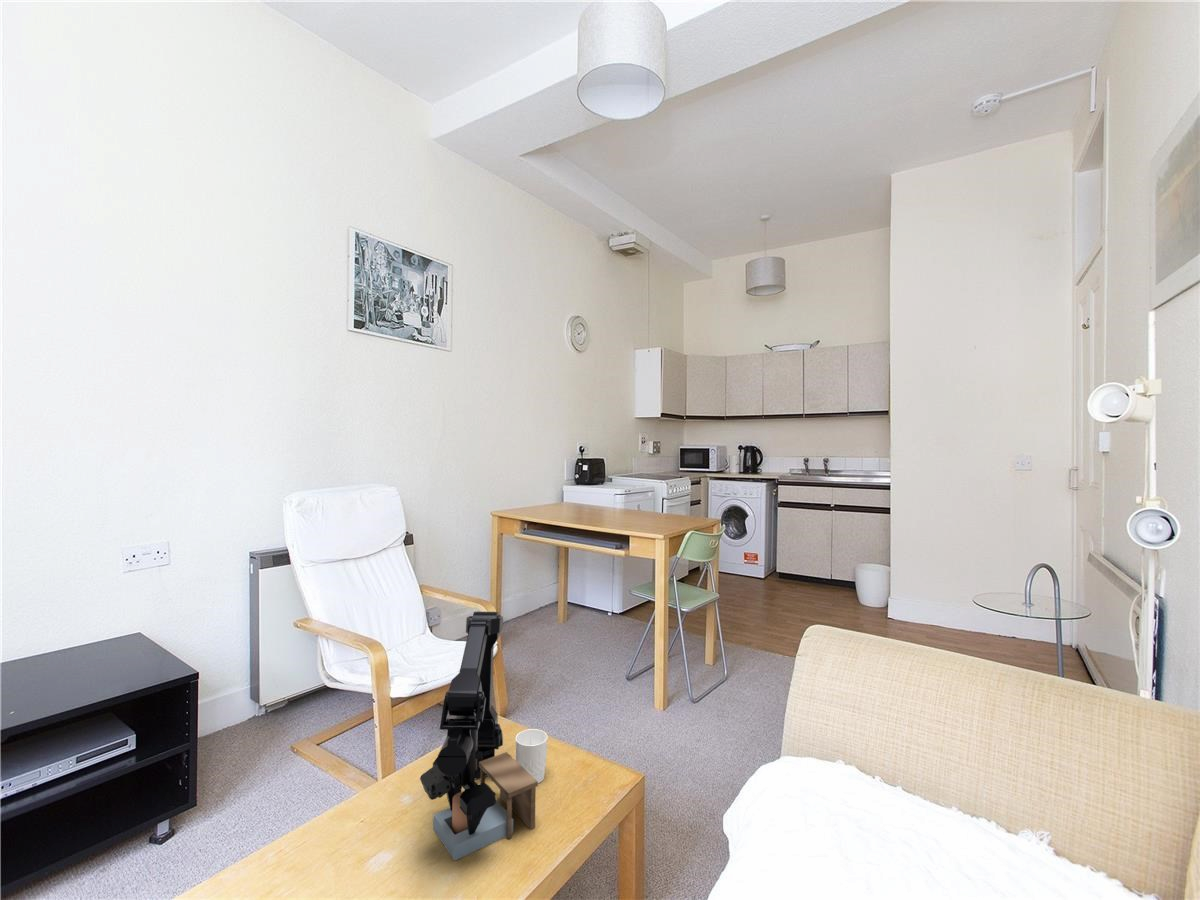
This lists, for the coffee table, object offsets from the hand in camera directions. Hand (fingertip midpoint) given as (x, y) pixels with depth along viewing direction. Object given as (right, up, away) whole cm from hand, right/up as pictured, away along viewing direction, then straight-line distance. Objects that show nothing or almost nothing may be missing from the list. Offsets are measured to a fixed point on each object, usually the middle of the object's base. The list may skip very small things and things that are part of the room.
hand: (462, 821), depth 114 cm
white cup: (+12, -3, +21) cm, 24 cm away
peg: (0, -3, 0) cm, 3 cm away
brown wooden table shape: (+8, -3, +6) cm, 11 cm away
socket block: (+2, -3, +2) cm, 4 cm away
